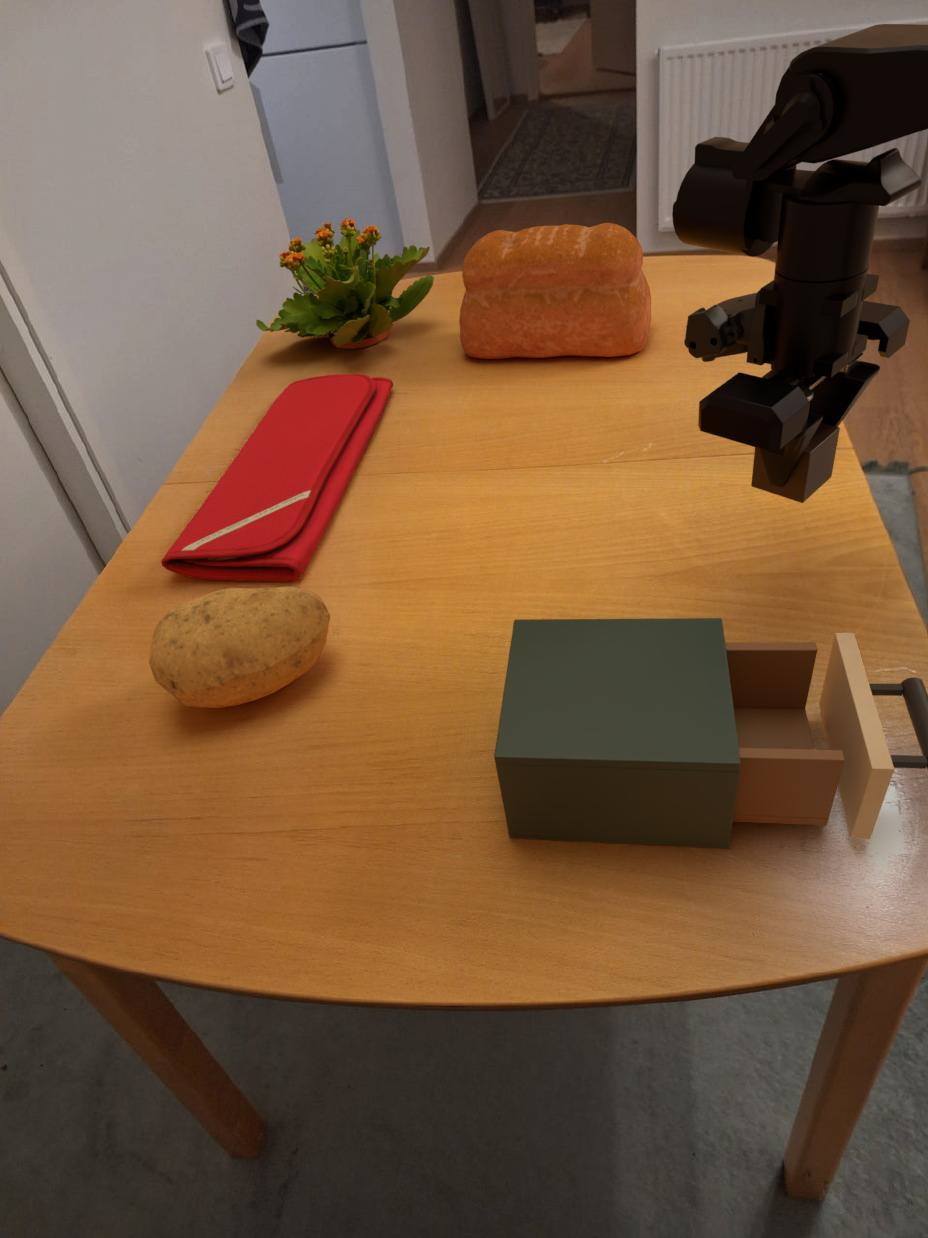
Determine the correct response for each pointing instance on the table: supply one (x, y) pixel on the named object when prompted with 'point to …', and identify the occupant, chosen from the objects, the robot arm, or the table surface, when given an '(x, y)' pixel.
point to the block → (803, 467)
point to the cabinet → (619, 732)
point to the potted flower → (347, 287)
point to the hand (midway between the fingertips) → (793, 470)
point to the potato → (238, 644)
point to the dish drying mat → (283, 483)
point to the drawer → (781, 740)
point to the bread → (555, 293)
